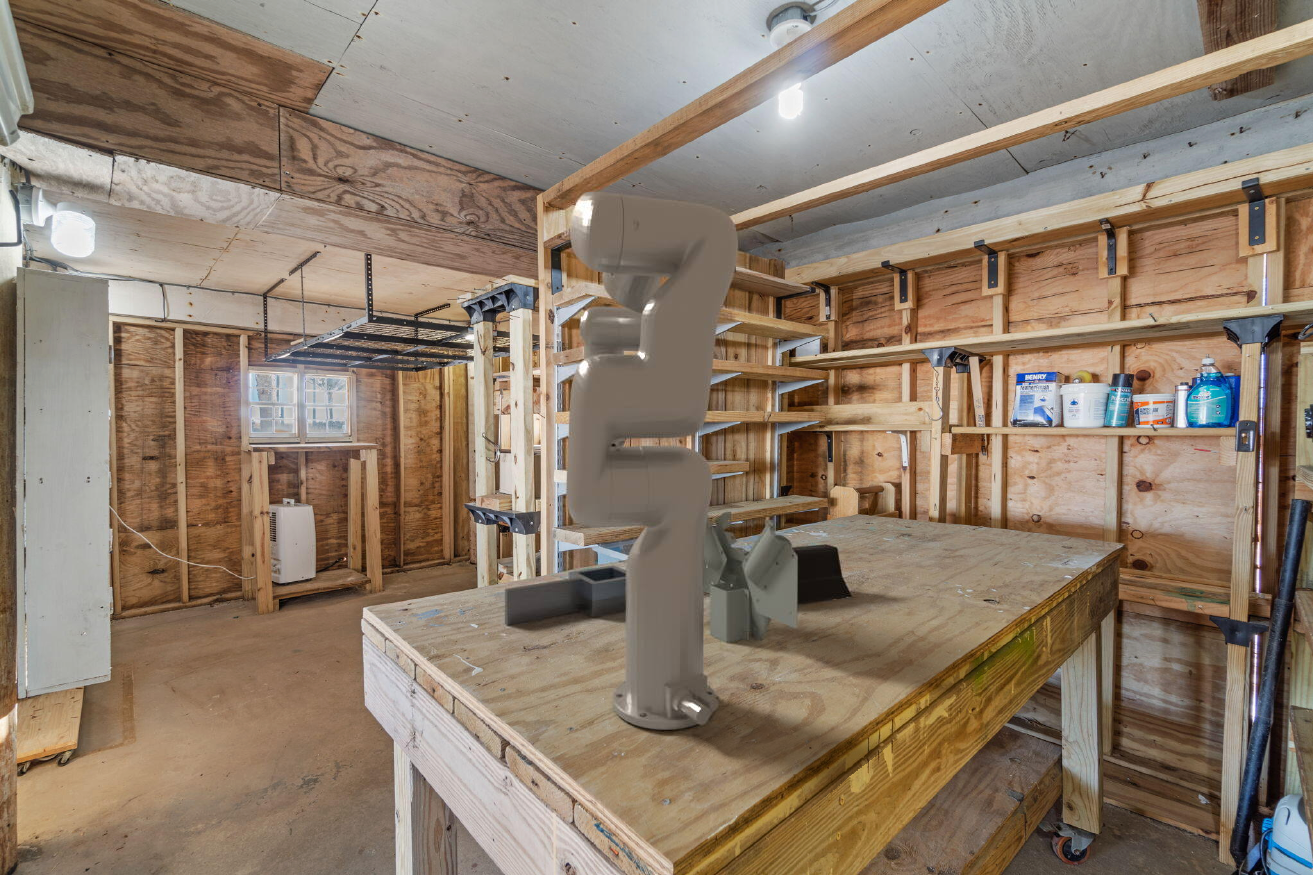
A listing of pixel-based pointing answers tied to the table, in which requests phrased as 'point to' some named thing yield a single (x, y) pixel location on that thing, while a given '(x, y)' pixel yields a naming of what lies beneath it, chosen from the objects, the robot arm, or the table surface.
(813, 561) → the barrier
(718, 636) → the bracket
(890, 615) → the table surface
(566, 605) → the grey square socket holder
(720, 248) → the robot arm
